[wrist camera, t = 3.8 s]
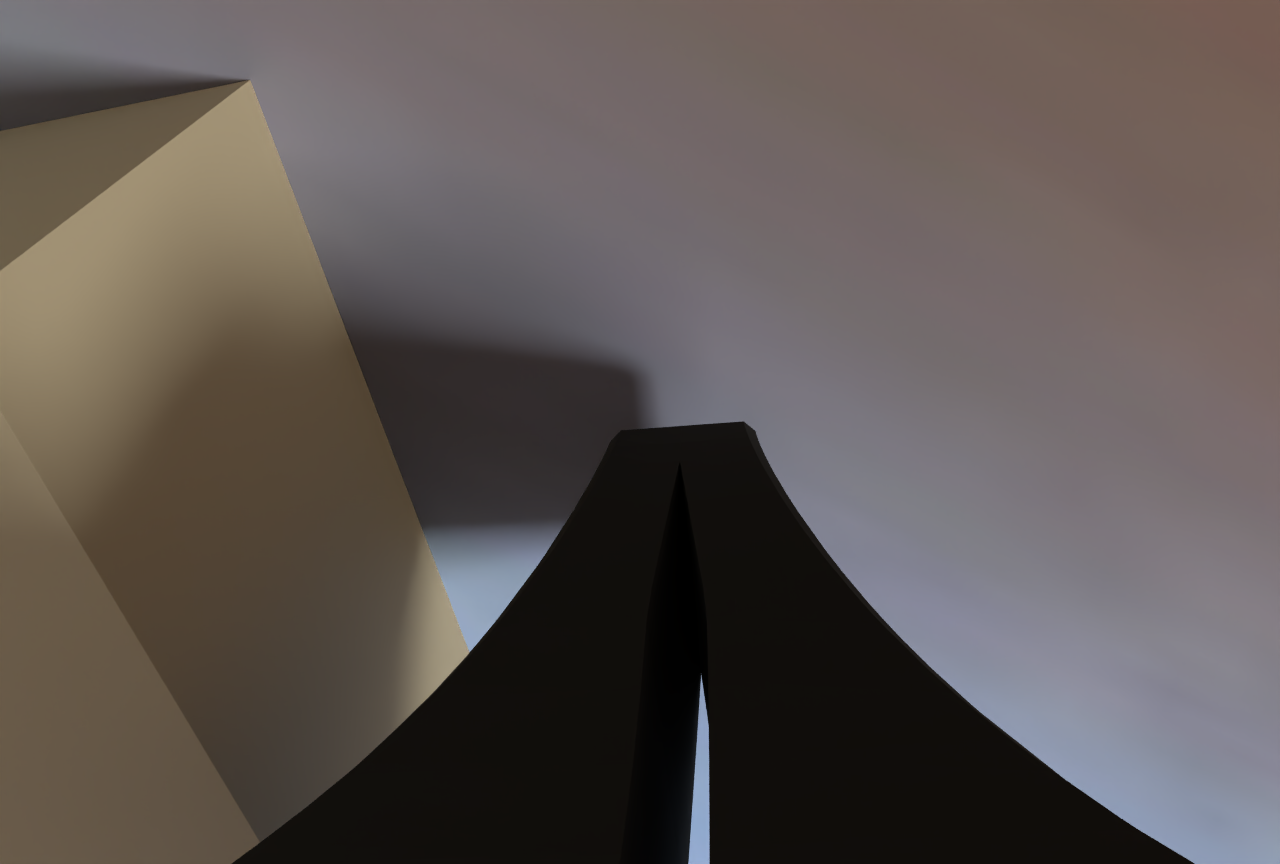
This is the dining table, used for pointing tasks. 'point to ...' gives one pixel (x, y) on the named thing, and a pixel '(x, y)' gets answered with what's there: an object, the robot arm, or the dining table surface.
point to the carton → (188, 499)
